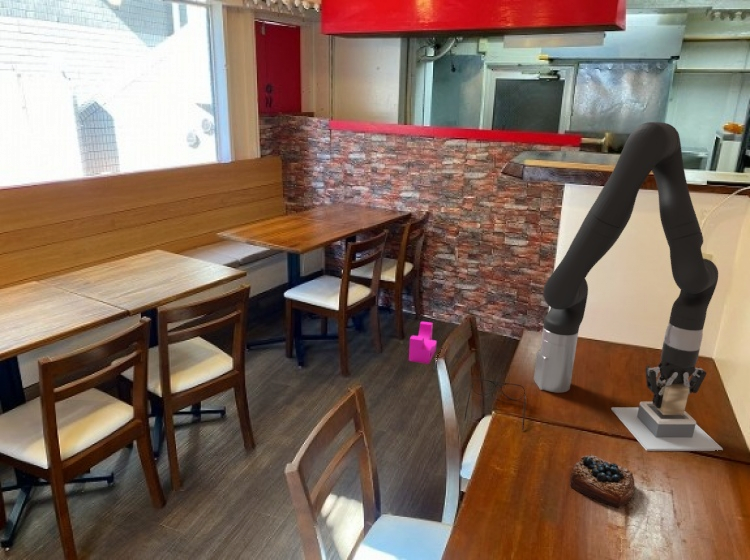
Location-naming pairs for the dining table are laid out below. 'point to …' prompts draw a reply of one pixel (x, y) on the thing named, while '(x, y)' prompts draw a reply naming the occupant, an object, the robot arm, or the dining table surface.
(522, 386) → the glasses
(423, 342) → the toy block
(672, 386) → the maple block
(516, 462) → the dining table surface
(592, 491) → the pastry
